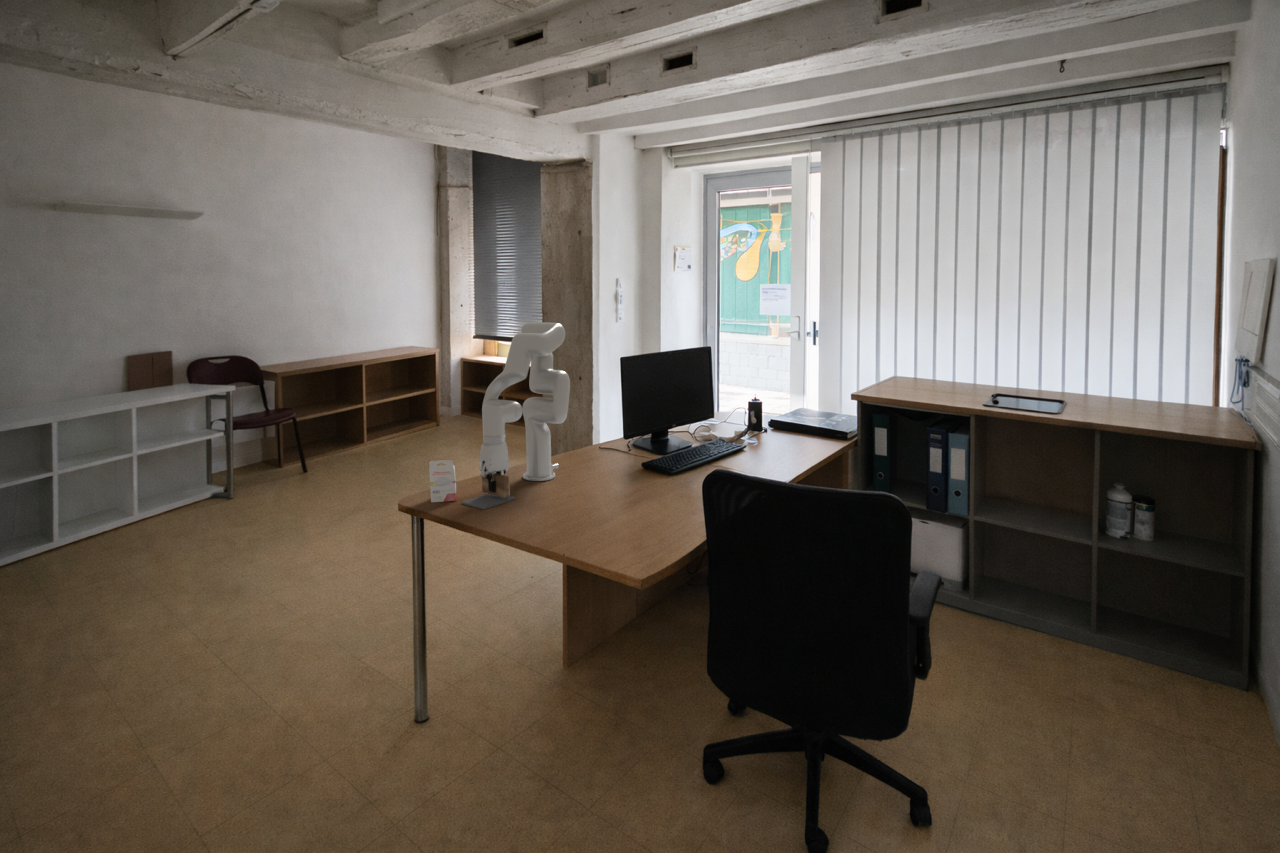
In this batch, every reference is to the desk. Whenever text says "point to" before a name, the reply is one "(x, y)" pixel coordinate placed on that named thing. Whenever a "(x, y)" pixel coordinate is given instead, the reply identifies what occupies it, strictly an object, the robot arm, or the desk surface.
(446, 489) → the ink cartridge box
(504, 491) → the tile
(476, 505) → the mat
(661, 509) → the desk surface
